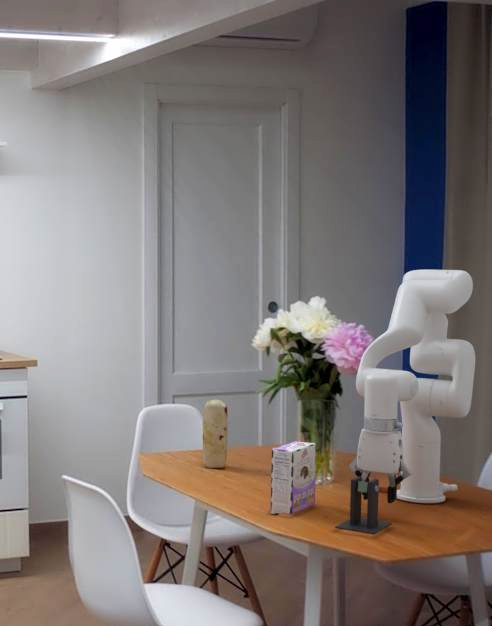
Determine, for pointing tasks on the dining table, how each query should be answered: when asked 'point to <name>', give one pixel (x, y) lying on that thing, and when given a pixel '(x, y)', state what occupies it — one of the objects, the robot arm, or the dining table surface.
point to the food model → (215, 434)
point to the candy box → (293, 477)
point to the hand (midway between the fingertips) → (379, 499)
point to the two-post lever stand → (371, 523)
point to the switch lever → (364, 488)
